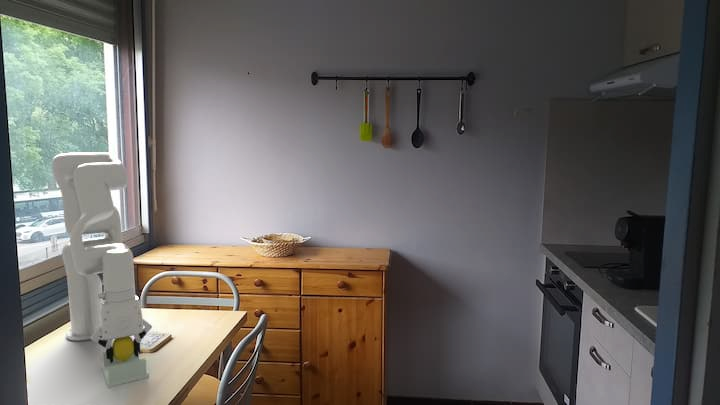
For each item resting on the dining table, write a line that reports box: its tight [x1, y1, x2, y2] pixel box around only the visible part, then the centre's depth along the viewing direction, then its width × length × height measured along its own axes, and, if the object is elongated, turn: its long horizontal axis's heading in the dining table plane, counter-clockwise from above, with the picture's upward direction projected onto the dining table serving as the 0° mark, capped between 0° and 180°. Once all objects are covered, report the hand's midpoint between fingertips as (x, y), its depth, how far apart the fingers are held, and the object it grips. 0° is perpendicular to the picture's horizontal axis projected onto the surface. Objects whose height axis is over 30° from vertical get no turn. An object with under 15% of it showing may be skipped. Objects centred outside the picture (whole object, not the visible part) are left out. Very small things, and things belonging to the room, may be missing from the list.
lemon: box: [111, 336, 134, 362], centre depth 131 cm, size 6×6×8 cm
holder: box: [101, 349, 150, 388], centre depth 132 cm, size 13×10×5 cm
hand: (123, 357), depth 132 cm, fingers closed on lemon, 5 cm apart
